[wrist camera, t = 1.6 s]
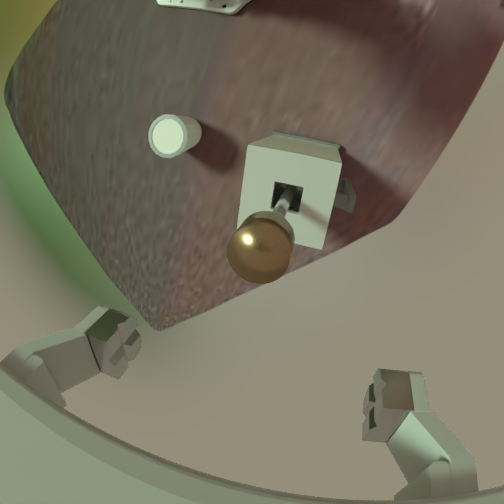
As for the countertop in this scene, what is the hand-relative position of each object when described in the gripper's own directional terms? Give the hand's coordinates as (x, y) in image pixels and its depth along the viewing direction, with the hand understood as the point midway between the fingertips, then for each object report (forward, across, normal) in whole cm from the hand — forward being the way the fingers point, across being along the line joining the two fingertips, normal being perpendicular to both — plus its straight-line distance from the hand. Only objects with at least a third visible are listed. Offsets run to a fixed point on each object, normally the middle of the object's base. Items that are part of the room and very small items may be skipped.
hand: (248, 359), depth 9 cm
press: (+42, +2, +1) cm, 42 cm away
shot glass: (+41, +22, -3) cm, 47 cm away
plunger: (+30, +2, +1) cm, 30 cm away
